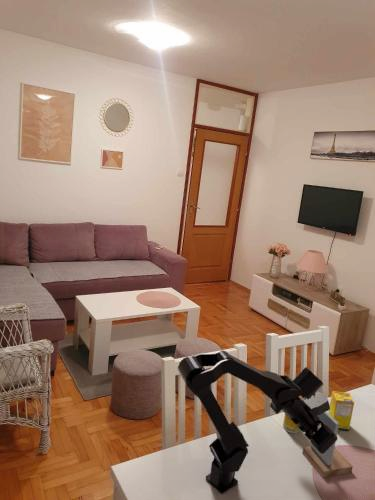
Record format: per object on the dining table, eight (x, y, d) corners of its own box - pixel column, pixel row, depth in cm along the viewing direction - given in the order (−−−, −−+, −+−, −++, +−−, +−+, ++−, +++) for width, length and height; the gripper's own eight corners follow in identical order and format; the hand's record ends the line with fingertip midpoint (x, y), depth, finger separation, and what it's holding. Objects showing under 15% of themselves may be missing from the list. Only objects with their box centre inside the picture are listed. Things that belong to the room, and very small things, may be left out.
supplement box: (343, 420, 139) (349, 392, 137) (349, 431, 133) (354, 402, 131) (326, 418, 139) (332, 390, 137) (331, 428, 134) (336, 400, 131)
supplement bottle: (295, 435, 128) (300, 409, 126) (280, 428, 131) (284, 402, 129) (301, 428, 132) (306, 402, 130) (286, 421, 136) (290, 395, 134)
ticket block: (322, 477, 111) (323, 471, 111) (302, 453, 120) (303, 447, 120) (351, 472, 114) (352, 466, 114) (329, 448, 124) (330, 443, 123)
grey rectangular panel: (327, 467, 112) (336, 424, 109) (310, 448, 120) (318, 406, 117) (330, 466, 113) (339, 423, 110) (313, 447, 120) (321, 406, 117)
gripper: (337, 407, 101) (364, 439, 107) (296, 370, 118) (321, 399, 124) (306, 438, 100) (335, 469, 106) (269, 396, 117) (296, 425, 123)
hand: (321, 437), depth 115 cm, fingers closed
